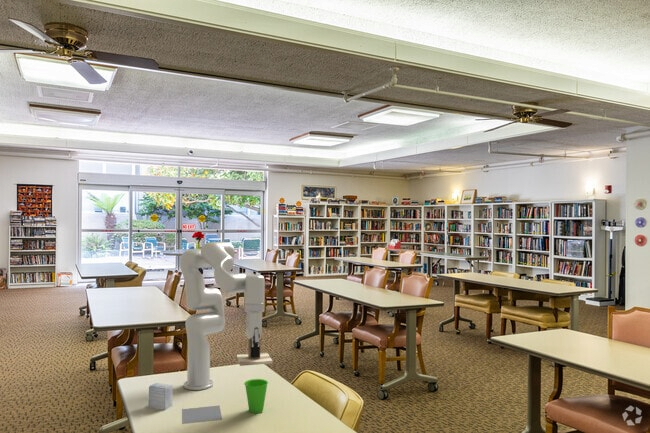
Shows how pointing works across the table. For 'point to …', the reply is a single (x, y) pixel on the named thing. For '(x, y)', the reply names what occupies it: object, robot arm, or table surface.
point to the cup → (256, 394)
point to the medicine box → (160, 396)
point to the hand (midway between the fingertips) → (254, 355)
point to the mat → (201, 414)
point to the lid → (247, 360)
